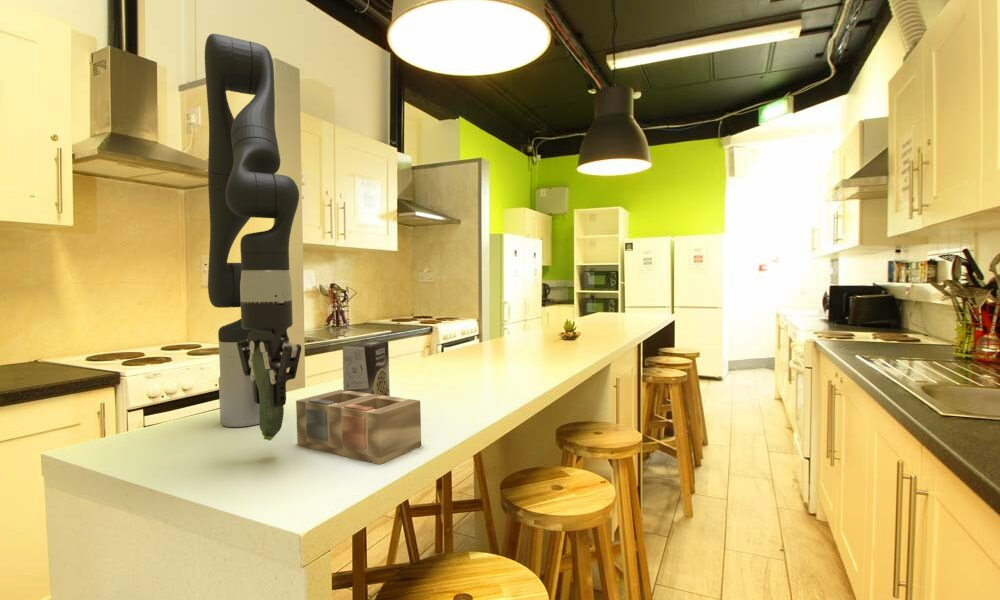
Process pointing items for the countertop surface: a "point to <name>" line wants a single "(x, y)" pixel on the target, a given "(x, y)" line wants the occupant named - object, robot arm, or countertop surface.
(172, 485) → the countertop surface
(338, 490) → the countertop surface
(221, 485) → the countertop surface
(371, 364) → the coffee box
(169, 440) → the countertop surface
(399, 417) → the holder
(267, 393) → the vegetable
